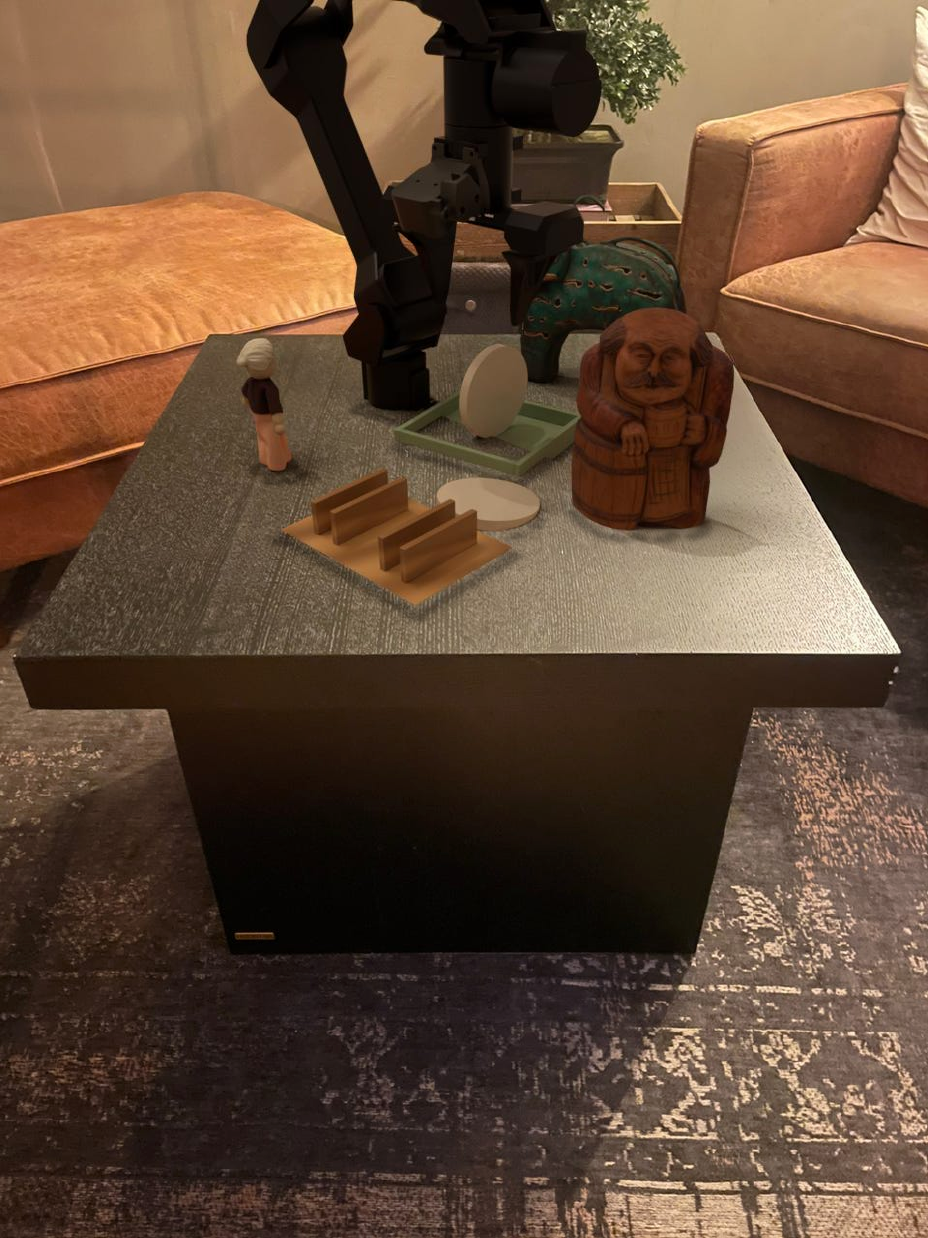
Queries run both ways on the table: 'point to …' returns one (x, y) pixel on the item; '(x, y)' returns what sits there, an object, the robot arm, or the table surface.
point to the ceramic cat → (594, 295)
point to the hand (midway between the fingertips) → (477, 314)
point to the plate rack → (396, 537)
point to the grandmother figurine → (265, 403)
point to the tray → (530, 430)
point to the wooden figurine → (650, 422)
